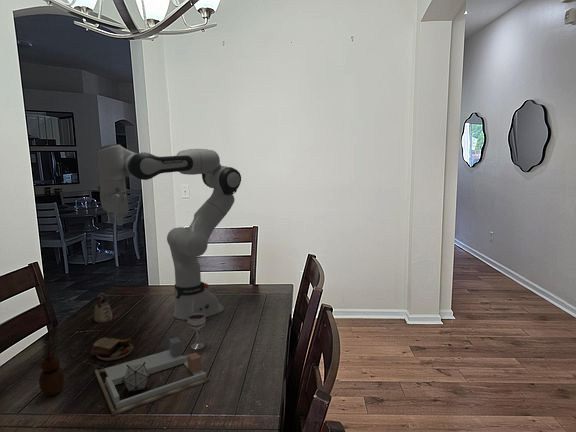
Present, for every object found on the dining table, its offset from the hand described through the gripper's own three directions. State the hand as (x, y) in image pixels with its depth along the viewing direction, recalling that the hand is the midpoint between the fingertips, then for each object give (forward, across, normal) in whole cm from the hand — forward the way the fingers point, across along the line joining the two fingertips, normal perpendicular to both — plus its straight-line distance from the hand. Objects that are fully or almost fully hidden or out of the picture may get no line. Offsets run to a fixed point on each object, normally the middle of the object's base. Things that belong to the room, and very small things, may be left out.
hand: (115, 223), depth 149 cm
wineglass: (+45, -28, -17) cm, 56 cm away
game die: (+45, -41, +10) cm, 62 cm away
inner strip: (+45, -30, +3) cm, 54 cm away
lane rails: (+45, -37, +4) cm, 59 cm away
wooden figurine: (+45, -26, +30) cm, 60 cm away
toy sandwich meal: (+46, -13, +8) cm, 48 cm away
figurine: (+45, +21, +2) cm, 50 cm away
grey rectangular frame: (+45, -42, +4) cm, 62 cm away
